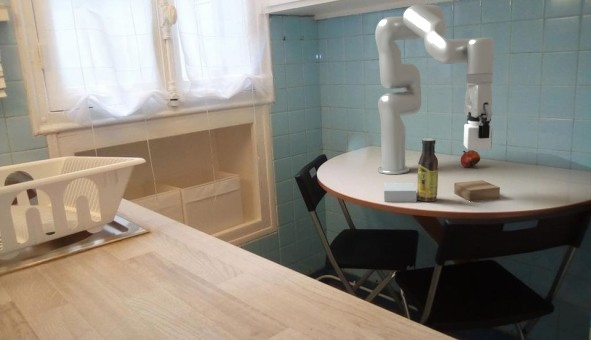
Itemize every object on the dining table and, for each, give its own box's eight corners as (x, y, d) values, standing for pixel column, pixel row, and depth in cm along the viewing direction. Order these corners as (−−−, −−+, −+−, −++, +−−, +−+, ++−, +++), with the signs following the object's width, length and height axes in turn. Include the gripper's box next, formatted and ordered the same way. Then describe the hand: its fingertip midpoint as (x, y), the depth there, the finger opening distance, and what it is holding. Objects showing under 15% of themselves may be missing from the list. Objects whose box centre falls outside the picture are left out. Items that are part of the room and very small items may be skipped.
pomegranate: (482, 172, 191) (471, 154, 197) (487, 161, 186) (475, 142, 192) (465, 176, 190) (454, 158, 196) (470, 164, 185) (458, 146, 191)
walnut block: (454, 194, 158) (454, 182, 157) (482, 191, 159) (482, 180, 158) (469, 202, 148) (470, 190, 147) (499, 199, 149) (499, 187, 149)
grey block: (384, 194, 162) (384, 183, 161) (414, 194, 161) (414, 182, 160) (384, 202, 153) (384, 190, 152) (416, 202, 151) (416, 190, 150)
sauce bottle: (414, 197, 155) (414, 137, 151) (433, 196, 156) (433, 136, 151) (421, 203, 149) (421, 141, 144) (440, 202, 149) (441, 139, 145)
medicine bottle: (491, 149, 146) (493, 110, 143) (467, 150, 147) (468, 111, 144) (486, 145, 153) (488, 108, 150) (463, 145, 154) (464, 108, 151)
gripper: (456, 79, 154) (455, 132, 158) (479, 81, 137) (477, 141, 141) (479, 78, 154) (478, 131, 158) (505, 79, 137) (502, 139, 141)
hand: (477, 135), depth 149 cm, fingers closed on medicine bottle, 8 cm apart
